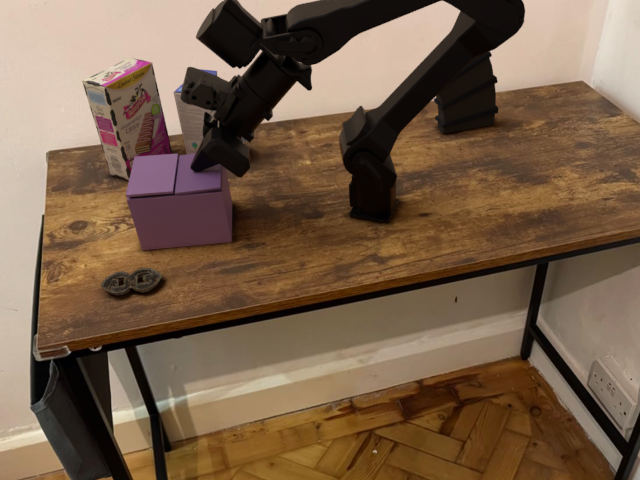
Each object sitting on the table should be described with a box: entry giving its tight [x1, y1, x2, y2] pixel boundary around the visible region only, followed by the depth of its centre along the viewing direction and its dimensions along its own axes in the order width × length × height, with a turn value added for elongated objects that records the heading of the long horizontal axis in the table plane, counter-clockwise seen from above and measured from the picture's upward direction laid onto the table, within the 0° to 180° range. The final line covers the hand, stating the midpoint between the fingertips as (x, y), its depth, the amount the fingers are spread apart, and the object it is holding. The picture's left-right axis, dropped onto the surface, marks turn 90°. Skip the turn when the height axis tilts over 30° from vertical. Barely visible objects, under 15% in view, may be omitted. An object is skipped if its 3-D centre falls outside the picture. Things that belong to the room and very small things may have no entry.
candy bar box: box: [81, 57, 173, 182], centre depth 110 cm, size 11×5×16 cm, turn 155°
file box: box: [125, 153, 233, 251], centre depth 99 cm, size 13×11×9 cm
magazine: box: [433, 51, 499, 134], centre depth 122 cm, size 4×13×15 cm, turn 111°
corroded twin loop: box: [100, 267, 163, 296], centre depth 91 cm, size 5×8×1 cm, turn 105°
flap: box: [175, 153, 222, 195], centre depth 96 cm, size 6×11×1 cm, turn 9°
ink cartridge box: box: [173, 68, 249, 155], centre depth 113 cm, size 10×6×14 cm, turn 78°
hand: (193, 169), depth 96 cm, fingers closed, pressing on flap
